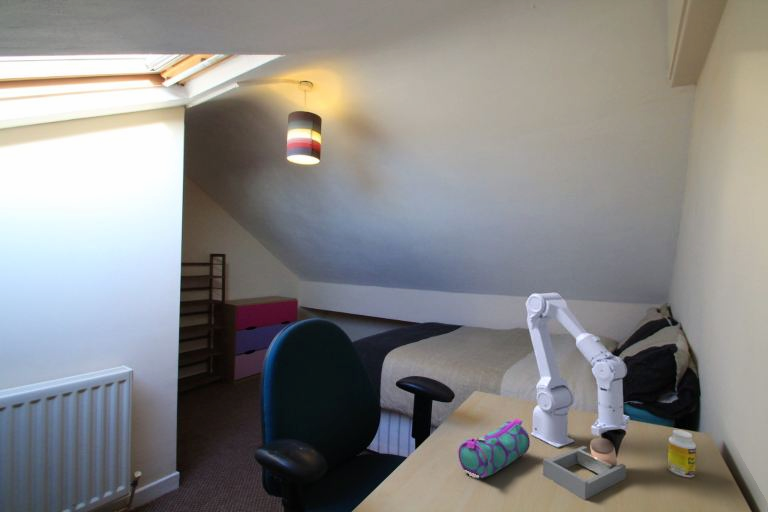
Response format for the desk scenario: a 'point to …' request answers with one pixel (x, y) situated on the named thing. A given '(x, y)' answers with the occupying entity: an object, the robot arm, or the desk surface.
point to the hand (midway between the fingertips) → (611, 456)
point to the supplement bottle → (682, 454)
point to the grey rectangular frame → (576, 484)
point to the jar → (604, 450)
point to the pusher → (592, 462)
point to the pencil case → (494, 449)
